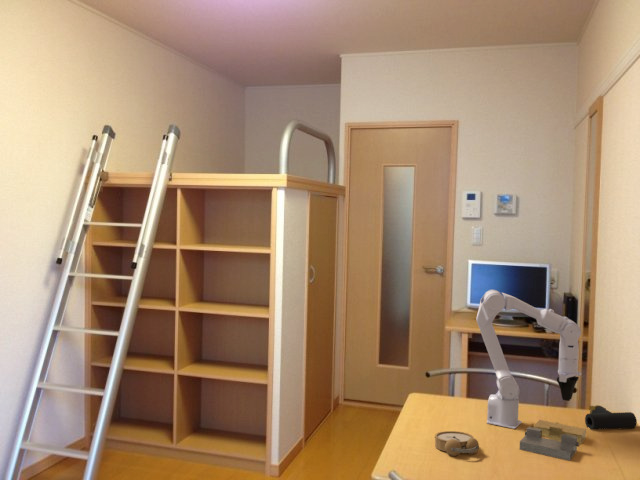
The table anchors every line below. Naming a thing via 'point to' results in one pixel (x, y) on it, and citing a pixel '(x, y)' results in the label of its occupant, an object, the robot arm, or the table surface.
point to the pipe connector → (609, 419)
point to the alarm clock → (456, 442)
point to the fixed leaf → (549, 444)
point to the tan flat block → (560, 430)
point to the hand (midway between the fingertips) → (566, 399)
